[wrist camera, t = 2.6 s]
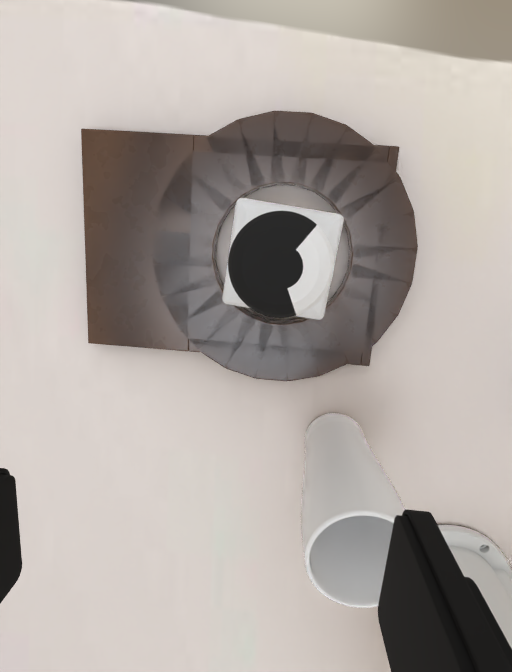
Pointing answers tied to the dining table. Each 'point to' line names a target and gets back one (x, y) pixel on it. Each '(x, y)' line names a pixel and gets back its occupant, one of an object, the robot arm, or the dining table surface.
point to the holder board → (203, 228)
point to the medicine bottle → (281, 259)
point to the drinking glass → (345, 512)
